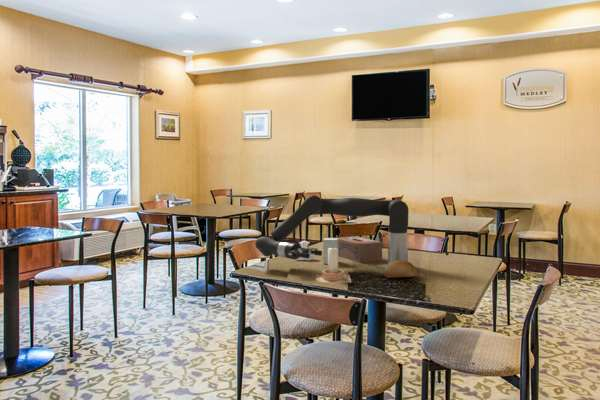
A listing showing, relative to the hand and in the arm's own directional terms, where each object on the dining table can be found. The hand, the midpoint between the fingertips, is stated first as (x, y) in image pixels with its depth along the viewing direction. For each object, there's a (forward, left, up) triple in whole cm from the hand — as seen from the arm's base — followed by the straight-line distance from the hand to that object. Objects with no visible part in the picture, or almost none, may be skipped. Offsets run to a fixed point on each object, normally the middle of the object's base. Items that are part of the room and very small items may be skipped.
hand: (315, 254), depth 216 cm
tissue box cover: (-23, -50, -11) cm, 56 cm away
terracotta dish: (-8, +6, -9) cm, 14 cm away
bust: (+6, -44, -11) cm, 46 cm away
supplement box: (-8, -35, -11) cm, 38 cm away
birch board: (-8, +6, -11) cm, 15 cm away
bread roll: (-38, -3, -11) cm, 40 cm away
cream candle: (-8, +6, -8) cm, 13 cm away
